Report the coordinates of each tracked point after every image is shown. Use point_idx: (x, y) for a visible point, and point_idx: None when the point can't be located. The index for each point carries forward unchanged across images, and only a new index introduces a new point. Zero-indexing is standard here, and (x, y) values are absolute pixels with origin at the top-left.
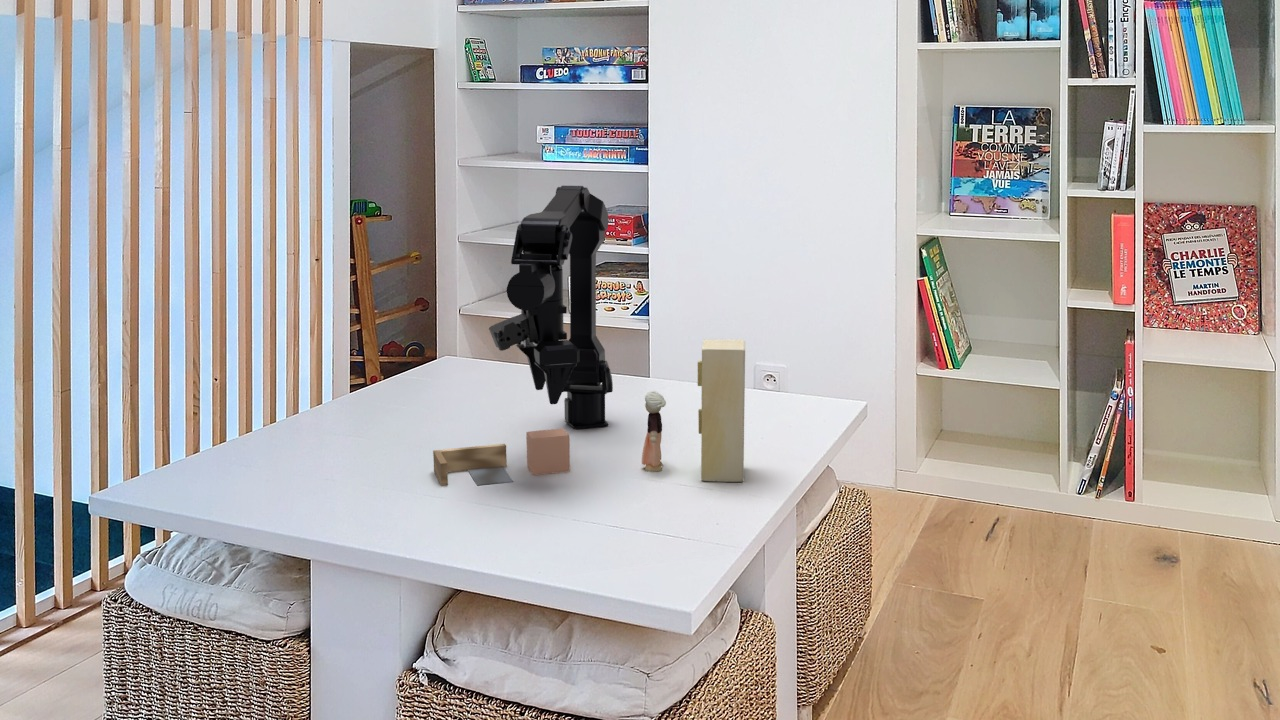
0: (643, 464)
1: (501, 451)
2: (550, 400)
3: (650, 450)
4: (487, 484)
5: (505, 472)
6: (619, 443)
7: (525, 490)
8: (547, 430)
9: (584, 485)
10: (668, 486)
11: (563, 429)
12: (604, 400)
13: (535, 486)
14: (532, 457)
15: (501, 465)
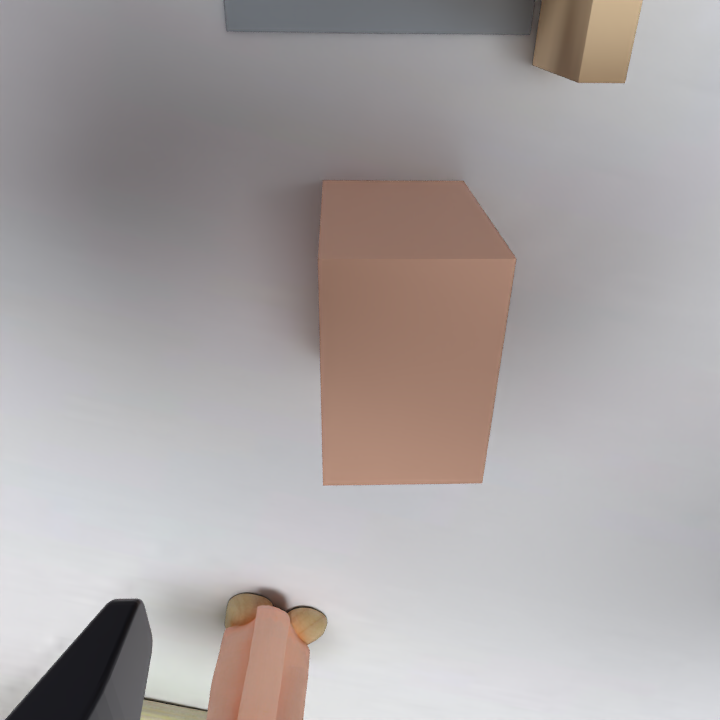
0: (257, 607)
1: (569, 37)
2: (82, 638)
3: (234, 677)
4: None
5: (407, 23)
6: (595, 592)
7: (57, 68)
8: (479, 397)
9: (103, 371)
10: (53, 610)
11: (455, 481)
12: None
13: (122, 144)
14: (325, 211)
15: (538, 28)
